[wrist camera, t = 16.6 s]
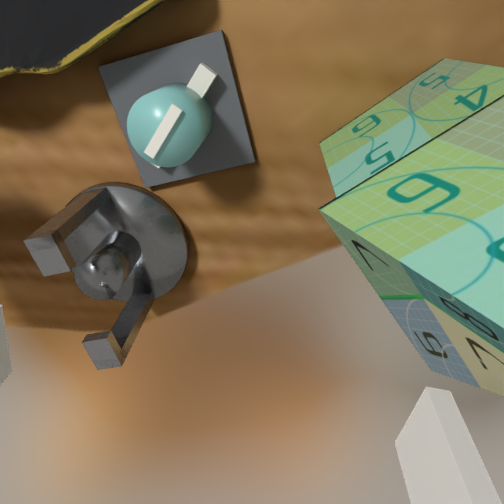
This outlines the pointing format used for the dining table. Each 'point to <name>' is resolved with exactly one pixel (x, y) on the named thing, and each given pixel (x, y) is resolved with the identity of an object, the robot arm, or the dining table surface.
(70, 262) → the grey metal piece
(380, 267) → the printed tall block
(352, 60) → the dining table surface
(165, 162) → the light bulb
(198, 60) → the coaster
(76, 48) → the mask
